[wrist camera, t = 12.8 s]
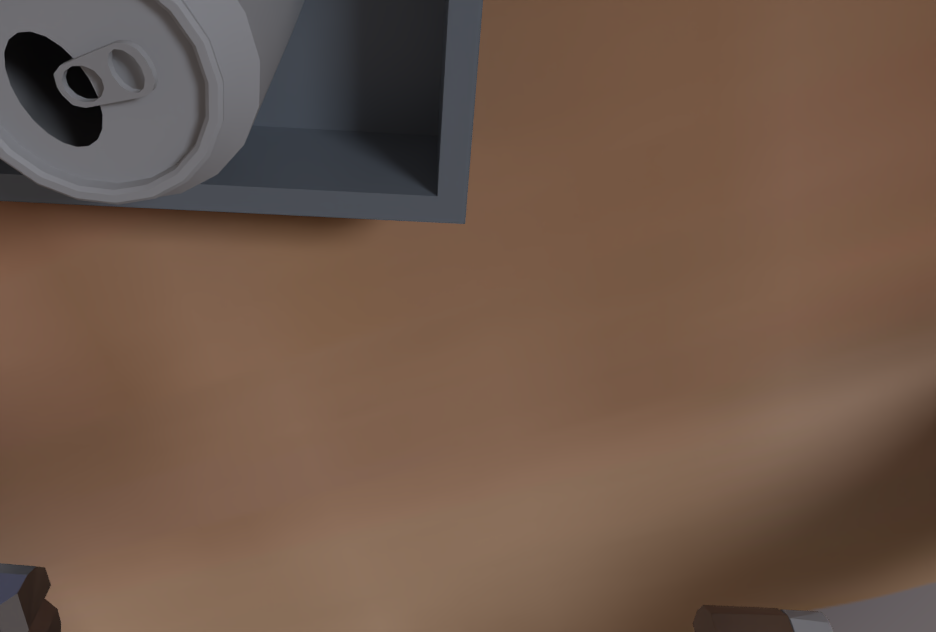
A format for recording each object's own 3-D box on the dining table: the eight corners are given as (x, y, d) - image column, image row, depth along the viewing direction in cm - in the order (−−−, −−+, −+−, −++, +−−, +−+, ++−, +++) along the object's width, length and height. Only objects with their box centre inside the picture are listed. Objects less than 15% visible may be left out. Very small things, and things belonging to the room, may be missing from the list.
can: (37, -117, 28) (-173, -19, 19) (249, -202, 27) (143, -145, 17) (156, 95, 33) (35, 266, 23) (344, 29, 31) (302, 180, 22)
